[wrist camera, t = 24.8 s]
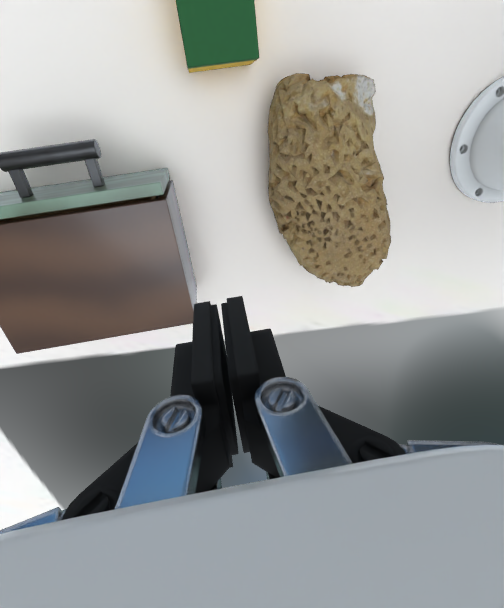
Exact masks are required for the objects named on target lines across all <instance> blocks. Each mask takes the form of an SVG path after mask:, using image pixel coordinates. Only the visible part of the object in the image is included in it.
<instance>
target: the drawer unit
mask: <svg viewBox="0 0 504 608" xmlns="http://www.w3.org/2000/svg"><path fill="white" fill-rule="evenodd" d="M196 298H197V285H196V281H195V277H194V272H193V268H192V263H191V259H190V255H189V250H188V246H187V241H186V237H185V232H184V228H183V224H182V219H181V215H180V210H179V206H178V202H177V197H176V193H175V188H174V184H173V181H168V184H167V186H166V189H165V191H164V194H163V195H159V197H158V199H152V200H145V201H139V202H132V203H125V204H119V205H112V206H106V207H99V208H93V209H86V210H80V211H73V212H66V213H60V214H53V215H47V216H40V217H34V218H27V219H21V220H14V221H7V222H1V223H0V327H1V328H2V330H3V332H4V333H5V335H6V337H7V338H8V340H9V342H10V344H11V345H12V347H13V349H14V350H15V352H16V353H17V354H18V353H24V352H30V351H35V350H41V349H47V348H53V347H58V346H64V345H70V344H76V343H81V342H87V341H93V340H99V339H105V338H110V337H116V336H122V335H128V334H133V333H139V332H145V331H151V330H157V329H162V328H168V327H174V326H180V325H185V324H191V323H193V312H194V304H196Z"/></svg>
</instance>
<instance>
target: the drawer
mask: <svg viewBox="0 0 504 608" xmlns="http://www.w3.org/2000/svg"><path fill="white" fill-rule="evenodd" d="M97 158H101V151H100V147H99V145H98V143H97V141H96V140H95V139H92V140H85V141H78V142H71V143H64V144H57V145H50V146H43V147H36V148H29V149H22V150H15V151H8V152H1V153H0V169H1V170H3V171H5V172H7V171H9V173H10V176H11V178H12V180H13V182H14V185H15V187H16V189H17V190H15V191H8V192H2V193H0V223H1V222H7V221H14V220H21V219H27V218H34V217H40V216H47V215H53V214H60V213H66V212H73V211H80V210H86V209H93V208H99V207H106V206H112V205H119V204H125V203H132V202H139V201H145V200H152V199H158V197H159V195H163V194H164V191H165V189H166V186H167V184H168V181H169V179H170V177H169V173H168V169H167V168H164V169H157V170H150V171H143V172H137V173H130V174H123V175H116V176H110V177H103V176H102V173H101V170H100V167H99V163H98V160H97ZM83 160H85V163H86V166H87V169H88V172H89V175H90V177H91V179H89V180H83V181H76V182H69V183H62V184H56V185H49V186H42V187H35V188H31V187H30V185H29V182H28V180H27V178H26V175H25V173H24V171H23V169H28V168H35V167H42V166H49V165H55V164H62V163H69V162H76V161H83Z"/></svg>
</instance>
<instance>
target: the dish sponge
mask: <svg viewBox="0 0 504 608" xmlns="http://www.w3.org/2000/svg"><path fill="white" fill-rule="evenodd" d="M176 4H177V10H178V16H179V21H180V27H181V33H182V38H183V44H184V50H185V55H186V61H187V66H188V70H189V73H191V72H198V71H206V70H213V69H221V68H228V67H236V66H243V65H250V64H252V63H253V62H254V61H256V60H257V59H258V58H259V50H258V39H257V27H256V16H255V5H254V0H176Z"/></svg>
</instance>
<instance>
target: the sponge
mask: <svg viewBox="0 0 504 608" xmlns="http://www.w3.org/2000/svg"><path fill="white" fill-rule="evenodd" d="M375 92H376V90H375V84H374V80H373V79H371V78H369V77H367V76H364V75H357V74H350V75H343V76H342V77H339V76H328V77H325V78H324V80H320V81H315V80H313V79H311V80H310V76H309V74H297V73H296V74H293V75H291V76H288V77H285V78H284V79H282V80H281V81H280V82H279V83H278V84H277V87H276V90H275V93H274V96H273V100H272V103H271V106H270V111H269V122H268V136H269V157H270V165H269V187H268V191H269V201H270V205H271V208H272V210H273V212H274V216H275V218H276V221H277V225H278V229H279V232H280V233H281V234H283V236H284V239H286V240H287V243H288V244H289V246H290V248H291V251H292V252H293V254H294V255H295V257H296V258H297V261H298V263H299V264H300V266H301V265H303V267H304V268H305V269H306V270H307V271H308V272H309V273H312V274H314V275H316V276H317V278H320V279H323V280H325V281H326V282H329V283H331V282H333V281H334V282H336V283H337V284H338V285H342V286H347V285H349V286H351V287H354V286H360V285H361V284H363V282H364V279H365V278H366V277H367V276H368V275H369V274H371V272H373V270H374V269H377V270H378V269H379V267H380V265H381V264H382V262H383V261H382V259H386V258H387V255H388V249H389V246H390V243H391V236H390V219H389V214H388V211H387V208H386V205H387V203H386V197H385V194H384V192H383V185H382V184H383V179H384V177H383V174H382V171H381V168H380V164H379V162H378V159H377V156H376V154H375V151H374V146H373V136H372V135H373V133H374V130H375V124H376V121H375V112H374V108H373V103H372V96H373V95H374V94H375Z"/></svg>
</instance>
